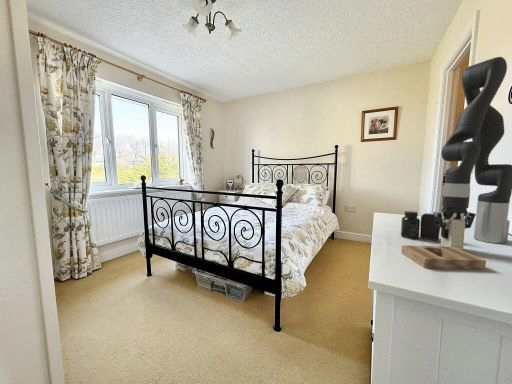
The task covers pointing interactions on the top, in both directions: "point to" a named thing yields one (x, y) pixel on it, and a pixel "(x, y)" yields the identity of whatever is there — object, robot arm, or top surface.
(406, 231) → the supplement bottle
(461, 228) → the skincare box
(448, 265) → the board
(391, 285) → the top surface
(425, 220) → the battery charger
